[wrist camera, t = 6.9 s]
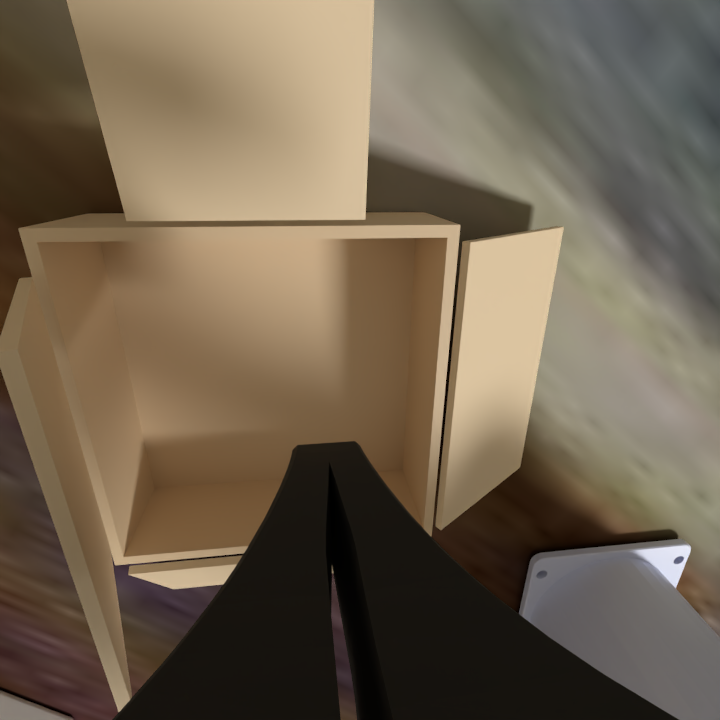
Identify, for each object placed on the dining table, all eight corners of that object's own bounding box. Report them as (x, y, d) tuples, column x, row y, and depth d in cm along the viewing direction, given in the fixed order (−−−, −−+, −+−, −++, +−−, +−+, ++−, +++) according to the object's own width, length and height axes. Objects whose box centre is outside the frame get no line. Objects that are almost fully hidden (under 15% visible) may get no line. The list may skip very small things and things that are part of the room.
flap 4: (435, 526, 15) (514, 464, 18) (441, 530, 15) (520, 467, 18) (462, 241, 11) (556, 226, 14) (470, 242, 11) (563, 227, 14)
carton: (408, 470, 18) (431, 536, 15) (149, 490, 17) (114, 565, 14) (423, 212, 14) (460, 224, 11) (87, 213, 13) (17, 228, 10)
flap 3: (419, 539, 15) (397, 560, 19) (129, 566, 14) (174, 582, 18) (420, 546, 15) (398, 566, 19) (128, 574, 14) (173, 589, 18)
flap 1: (110, 548, 13) (133, 711, 9) (101, 552, 13) (121, 719, 9) (32, 277, 10) (17, 349, 6) (18, 278, 10) (-5, 353, 6)
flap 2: (365, 220, 10) (377, -84, 7) (126, 221, 10) (36, -110, 7) (364, 216, 10) (375, -81, 7) (129, 217, 10) (43, -106, 7)
